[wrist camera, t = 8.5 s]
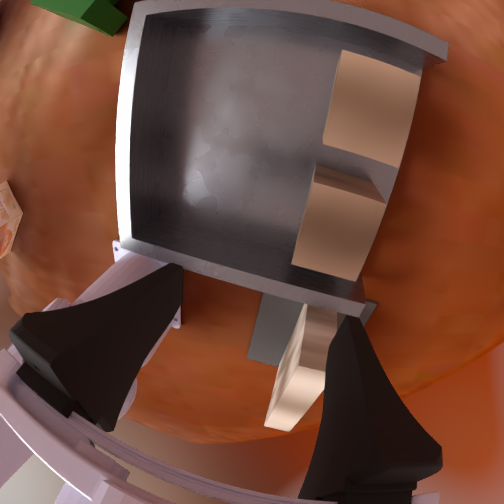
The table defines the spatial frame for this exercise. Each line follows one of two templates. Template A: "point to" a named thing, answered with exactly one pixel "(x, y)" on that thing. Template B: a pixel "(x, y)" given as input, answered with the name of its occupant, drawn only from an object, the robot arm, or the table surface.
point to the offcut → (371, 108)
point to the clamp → (87, 13)
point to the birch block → (302, 367)
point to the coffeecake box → (8, 218)
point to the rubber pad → (283, 327)
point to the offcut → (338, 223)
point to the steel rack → (243, 133)
